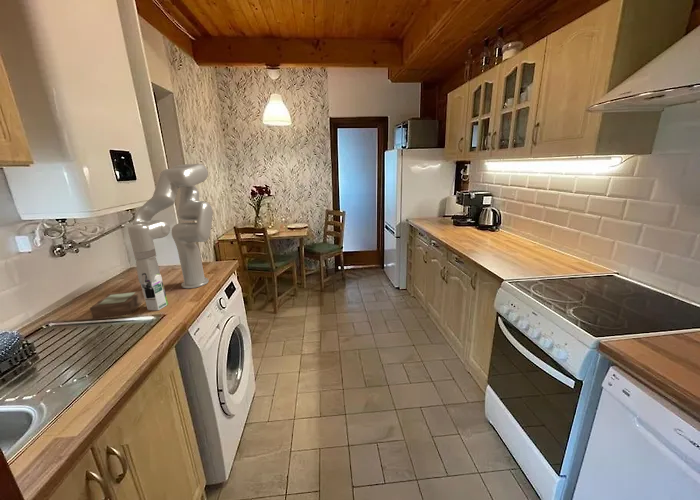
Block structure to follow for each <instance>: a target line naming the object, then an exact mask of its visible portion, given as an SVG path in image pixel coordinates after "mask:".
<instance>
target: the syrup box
mask: <svg viewBox="0 0 700 500" xmlns="http://www.w3.org/2000/svg"><path fill="white" fill-rule="evenodd" d="M149 281H150V280H147V281H146V282H149ZM139 284H140V287H141V291H143V295H144V299H145V301H144V302H145V305H146V308H147V311H160V310H162V309H163V308H165V307H167V306H168V305H169V302H168V297H167V293H166V290H165V286H164V282H163V277H162V275H161V273H160V274H157V275H156V276H155V279H154V281H153V282H152V288H153V289H154V293H155V298H146V294H145V290H144V288H143V286H142V285H141V283H139ZM148 285H149V286H150V283H148Z"/></svg>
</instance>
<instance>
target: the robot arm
mask: <svg viewBox="0 0 700 500" xmlns="http://www.w3.org/2000/svg"><path fill="white" fill-rule="evenodd" d="M208 176H209V171H208V169H207V167H206V166H205V165H204V164H202V163H189V164H187V163H186V164H178V165H177V164H176V165H174V166H173V167H171V168H165V169H163V170H161V172H160V175H159V177H158V180H157V182H156V186H155V189H154V191H153V194H152V197H150V199H149V200H146V202H145V203H143V205H142V206H141V207H140V208H139V209H138V210H137V212H136V214H135V216H134V219H133V222H132V225H130V226H128V228H127V231H128V235H129V236H128V237H129V239H130V244H131V247H132V252H133V256H134V259H135V266H136V267H135V268H136V272H137V273H136V274H137V278H138V282H139V284H140V283H141V284H140V286H141V285H142V286H143V288H144V290H145V294H146V298H155V293H154V289H153V288H152V282H153V281H154V279H155V276H156V275H157V274H161V273H160V267H159V263H158V261H157V252H156V248H155V244H154V240H157V239H163V238H166V237H167V236H168V235H169V234H170V233H171V236H172V239H173V241H174V243H175V247H176V249H177V254H178V258H179V263H180V268H181V272H182V277H183V282H182V283H181V284H180V285H181V288H183V289H196V288H199V287H203V286H205V285H207V284H208V283H209V278H208V277H205V272H204V268H203V267H204V266H203V262H202V256H201V252H200V248H199V245H197V243H204V242H207V241H209V238H210V237H211V232H212V223H213V217H214V215H213V214H214V213H213V208H212V205H211V204H210V203H209V202H207V201H205V200H200V191H199V189H198V188H197V186H196V185H198V184H200V183H203V182H205V181H206V180H207V178H208ZM178 191H179V192H180V193H179V195H180V196H179V203H178V208H177V209H178V210H177V213H178V218H179V219H180V220H181V221H187V222H179V223H176V224H175V225H173V226H172V228H171V227H170V225H169V223H168V222H166V221H164V220H154V219H153V220H152V218H154V216H155V215H157V214H158V213H160V212H161V211H165V210H167V209H168V208H170V207H171V206H173V205H174V204H175V201H176V197H177V195H178ZM189 221H190V222H189ZM191 221H192V222H191ZM193 221H194V222H193ZM195 221H196V222H195ZM170 231H171V232H170ZM147 280H150V281H149V282H146V281H147ZM148 283H150V286H149V285H148Z"/></svg>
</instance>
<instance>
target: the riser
mask: <svg viewBox="0 0 700 500" xmlns="http://www.w3.org/2000/svg"><path fill="white" fill-rule="evenodd" d="M144 302H145V298H144V295H143V291H142V290H136V291H126V292H125V291H124V292H119V293H118V292H117V293H109V294H106V295H105V296H104V297H102V298H101V299H100V300H98V301H97V302H95V304H93V305H92V306H91V307H89V310H90V313H91V316H92V319H93V320H97V319H106V318H111V317H112V318H113V317H123V316H129V315H132V314H133V313H134V312H135V311H136V310H137V309H138V308H139V307H140V306H141V305H142V304H143V303H144Z"/></svg>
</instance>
